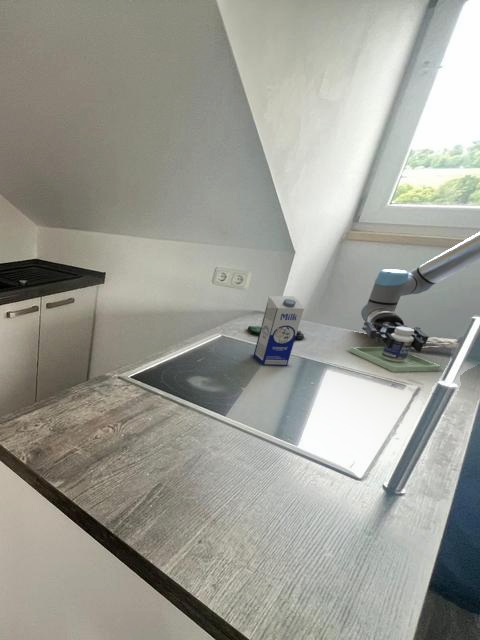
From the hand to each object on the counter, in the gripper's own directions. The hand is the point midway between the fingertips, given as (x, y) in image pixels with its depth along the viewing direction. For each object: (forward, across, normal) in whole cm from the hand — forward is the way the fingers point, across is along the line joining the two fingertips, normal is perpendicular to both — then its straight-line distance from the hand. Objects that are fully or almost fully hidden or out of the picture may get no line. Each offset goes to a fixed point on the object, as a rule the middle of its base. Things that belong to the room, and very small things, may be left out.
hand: (405, 345), depth 112 cm
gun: (-15, +30, -7) cm, 34 cm away
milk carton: (+12, +32, -7) cm, 35 cm away
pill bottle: (-5, 0, -6) cm, 8 cm away
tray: (-5, 0, -7) cm, 9 cm away
